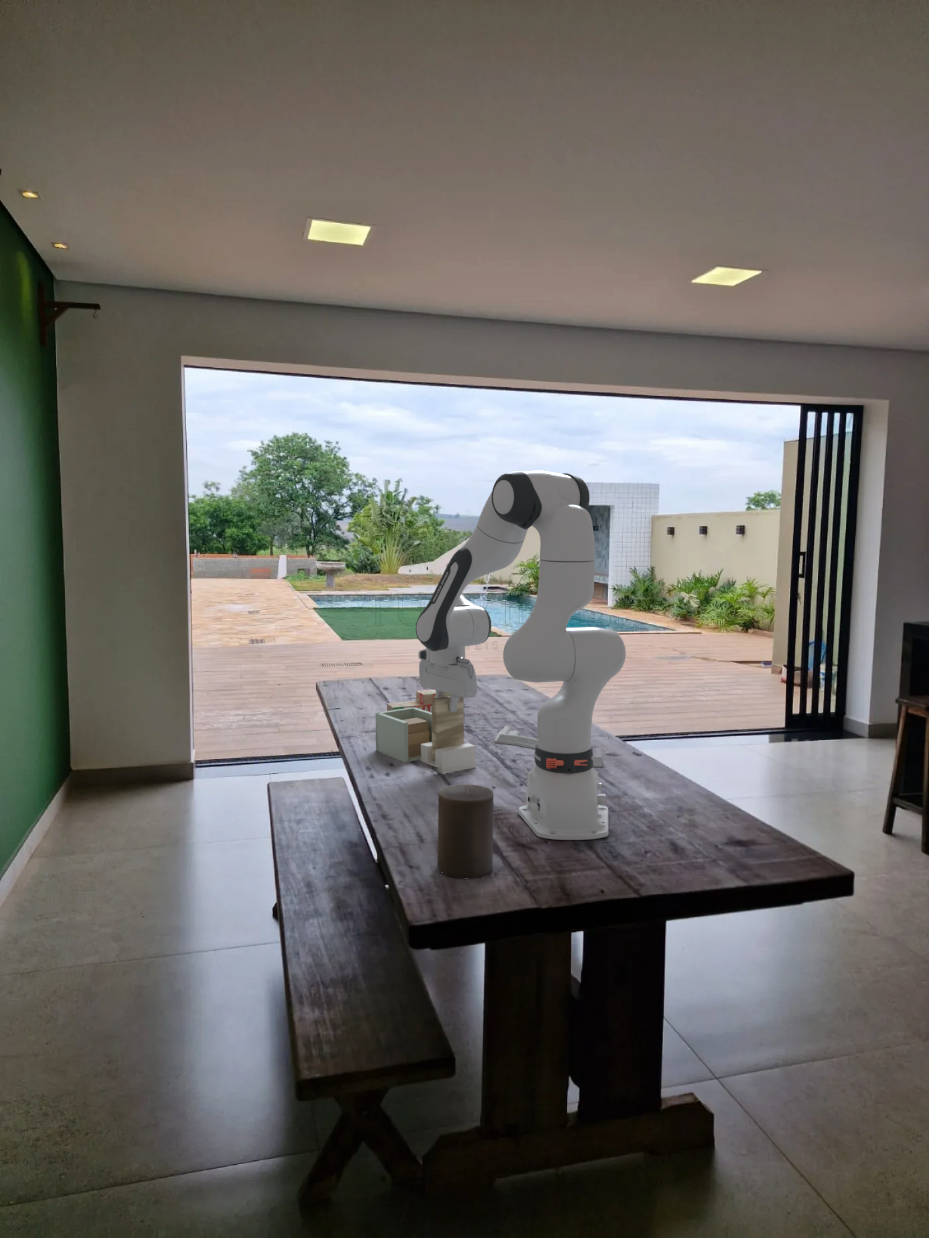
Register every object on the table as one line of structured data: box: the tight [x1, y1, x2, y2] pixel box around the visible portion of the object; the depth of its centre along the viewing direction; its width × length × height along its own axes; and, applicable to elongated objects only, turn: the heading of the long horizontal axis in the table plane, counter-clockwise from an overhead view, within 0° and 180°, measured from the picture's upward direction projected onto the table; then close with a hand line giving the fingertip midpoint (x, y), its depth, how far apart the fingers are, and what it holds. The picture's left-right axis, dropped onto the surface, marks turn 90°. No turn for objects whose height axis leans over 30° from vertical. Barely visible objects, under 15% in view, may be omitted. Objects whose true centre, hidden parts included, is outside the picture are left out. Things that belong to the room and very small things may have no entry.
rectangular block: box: [432, 696, 465, 759], centre depth 205 cm, size 2×8×15 cm, turn 126°
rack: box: [375, 707, 432, 763], centre depth 214 cm, size 14×12×11 cm
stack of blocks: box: [386, 689, 450, 713], centre depth 239 cm, size 21×6×12 cm, turn 112°
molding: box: [493, 725, 604, 768], centre depth 221 cm, size 42×12×3 cm, turn 34°
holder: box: [419, 742, 477, 775], centre depth 205 cm, size 10×10×6 cm
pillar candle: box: [437, 783, 494, 879], centre depth 143 cm, size 10×10×15 cm
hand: (447, 709), depth 204 cm, fingers closed on rectangular block, 2 cm apart
